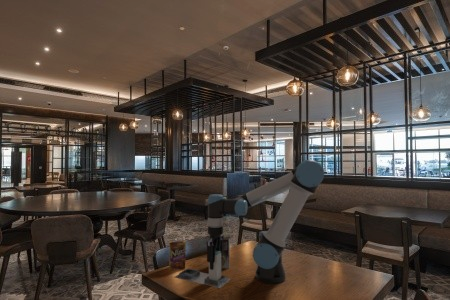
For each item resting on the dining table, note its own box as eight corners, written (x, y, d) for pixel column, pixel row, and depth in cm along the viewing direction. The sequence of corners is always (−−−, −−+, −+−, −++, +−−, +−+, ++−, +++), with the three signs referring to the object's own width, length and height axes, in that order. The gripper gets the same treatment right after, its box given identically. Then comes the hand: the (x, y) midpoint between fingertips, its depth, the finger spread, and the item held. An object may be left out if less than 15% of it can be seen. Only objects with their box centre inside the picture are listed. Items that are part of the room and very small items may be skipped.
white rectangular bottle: (221, 277, 139) (221, 251, 140) (216, 280, 135) (217, 253, 136) (211, 275, 142) (212, 249, 142) (207, 278, 138) (207, 252, 138)
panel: (230, 279, 141) (230, 275, 141) (219, 288, 130) (219, 284, 131) (187, 270, 153) (187, 266, 153) (173, 278, 142) (173, 274, 142)
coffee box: (229, 265, 161) (230, 236, 162) (228, 269, 154) (229, 239, 155) (214, 264, 162) (214, 236, 163) (212, 268, 155) (212, 239, 156)
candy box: (168, 270, 152) (169, 242, 153) (169, 267, 156) (169, 240, 157) (185, 270, 153) (185, 241, 154) (185, 267, 158) (185, 239, 158)
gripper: (217, 221, 149) (217, 266, 148) (199, 228, 133) (199, 278, 132) (230, 223, 146) (229, 269, 145) (213, 230, 130) (212, 281, 129)
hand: (215, 273), depth 138 cm, fingers open, 5 cm apart
